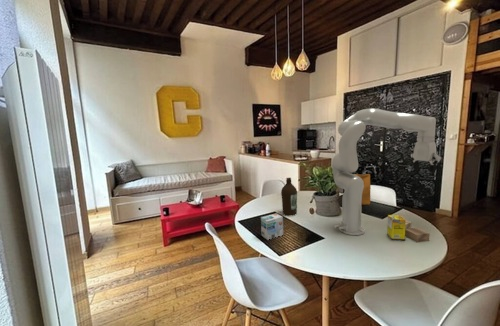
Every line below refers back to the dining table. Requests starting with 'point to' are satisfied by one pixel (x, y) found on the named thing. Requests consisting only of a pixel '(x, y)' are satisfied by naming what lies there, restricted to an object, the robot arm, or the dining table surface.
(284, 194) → the olive oil
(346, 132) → the robot arm
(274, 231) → the light bulb box
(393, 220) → the supplement box
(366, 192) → the coffee package
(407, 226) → the oak cube
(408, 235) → the walnut block
